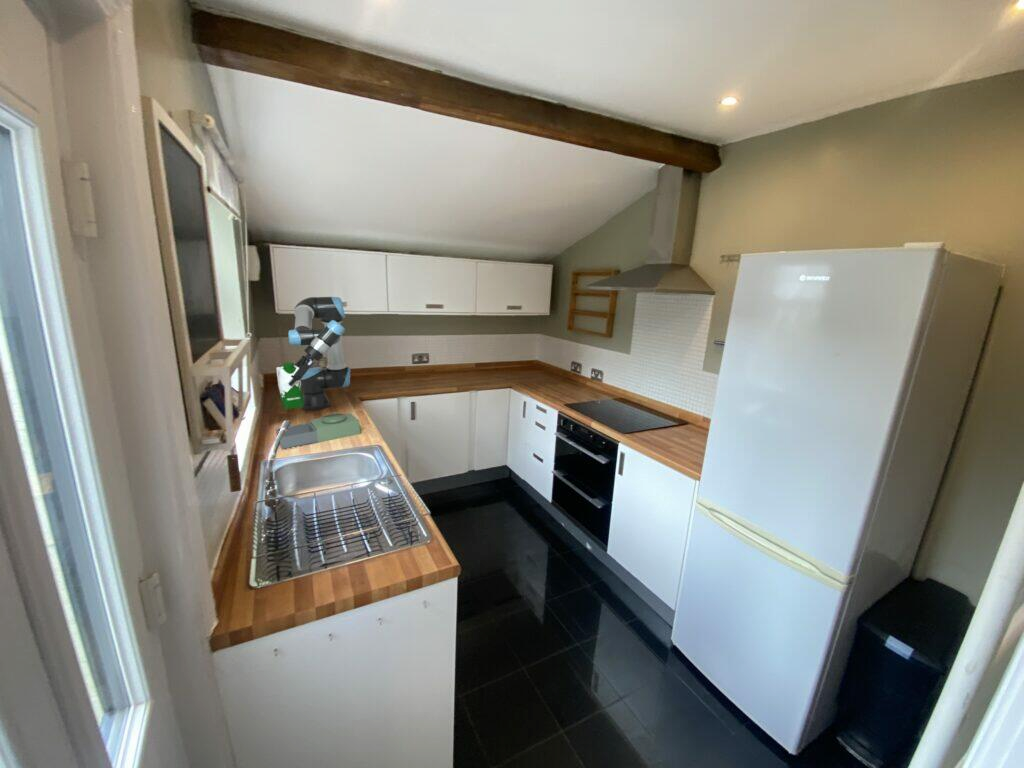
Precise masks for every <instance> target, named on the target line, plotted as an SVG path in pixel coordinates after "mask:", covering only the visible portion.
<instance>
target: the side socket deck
mask: <svg viewBox="0 0 1024 768" xmlns="http://www.w3.org/2000/svg"><path fill="white" fill-rule="evenodd" d="M287 427H288V429H287V431H286V432H285V434H284V437H282V438H281V440H280V444H279V446H280V448H281V450H282V449H285V450H288V449H287V448H290V449H293V448H292V447H295V448H298V447H297V446H300V447H304V446H303V445H305V446H309V445H315V444H318V443H323V442H327V441H328V442H329V441H332V440H337V439H342V438H347V437H350V436H351V437H352V436H357V435H361V428H360V420H359V419H358V417H356V416H355V415H354V414H352V413H351V412H348V413H331V414H330V413H329V414H327V415H324V416H322V417H320V418H313V419H309V422H307V423H302V424H296V425H291V426H287ZM281 428H282V427H279V428H276V429H275V432H276V436H277V435H278V433H279V431H280V429H281Z"/></svg>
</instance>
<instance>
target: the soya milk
mask: <svg viewBox="0 0 1024 768" xmlns="http://www.w3.org/2000/svg"><path fill="white" fill-rule="evenodd" d="M282 365H283V366H278V367H276V377H277V378H276V379H277V386H278V391H279V397H280V401H281V405H282V407H284V409H286V410H290V409H294V408H302V406H303V396H304V394H303V386H302V380H298V381H297V382H296V383H295V384H294V385H293V386H292V387H291V389H290V390H289V391H288V392H285V391H284V390H282V389H281V388H282V387H283V386H284V385H285V384H286V383H287V382H288V380H289V379H290V378H291V376H292V375H293V376H294V374H295V373H296V372H297V370H298V369H299V367H297V366H295V364H294V362H284V363H283V364H282Z"/></svg>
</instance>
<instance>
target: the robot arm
mask: <svg viewBox="0 0 1024 768" xmlns="http://www.w3.org/2000/svg"><path fill="white" fill-rule="evenodd" d="M293 314H294V317H295V319H294V329H289V330H288V342H289V344H290V346H292V347H293V346H295V347H297V346H298V347H300V346H307V347H306V348H305V349H304V353H306V354H305V355H302V356H301V357H300V359H298V360H297V361H296V362H295V364H294V365H295V366H297V367H299V369H298V370H297V372H296V373H295V374H294V376H293V375H292V376H291V378H290V379H289V380H288V382H287V383H286V384H285V385H284V386H283V387H282V388H281V389H282V390H284V391H285V392H288V391H289V390H290V389H291V387H292V386H293V385H294V384H295V383H296V382H297V381H298V380H301V385H302V392H303V406H302V407H301V409H302V410H304V411H316V410H322V409H326V408H328V407H330V406H331V405H330V404H331V403H330V400H329V398H328V396H327V394H326V390H327V389H328V390H329V389H339V388H340V389H341V388H346V387H349V386H350V384H351V367H349V366H348V364H347V363H345V356H344V346H343V337H342V336H343V335H344V333H345V331H346V329H345V327H344V326H342V325H341V323H343V321H344V318H346V315H345V310H344V305H343V302H342V299H341V298H340V297H339V296H313V297H311V296H310V297H307V298H305V299H302V300H301V301H299V302H298V303H297V304H296V305H295V307H294V309H293ZM313 319H320V322H321V323H322V324H323V325H324V328H313ZM326 353H327V361H328V364H326V368H323V367H322V366H316V367H315V366H314V367H312V366H313V364H314V360H315V361H318V362H319V361H320V360H321V359H322V358H323V356H324V354H326Z"/></svg>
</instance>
